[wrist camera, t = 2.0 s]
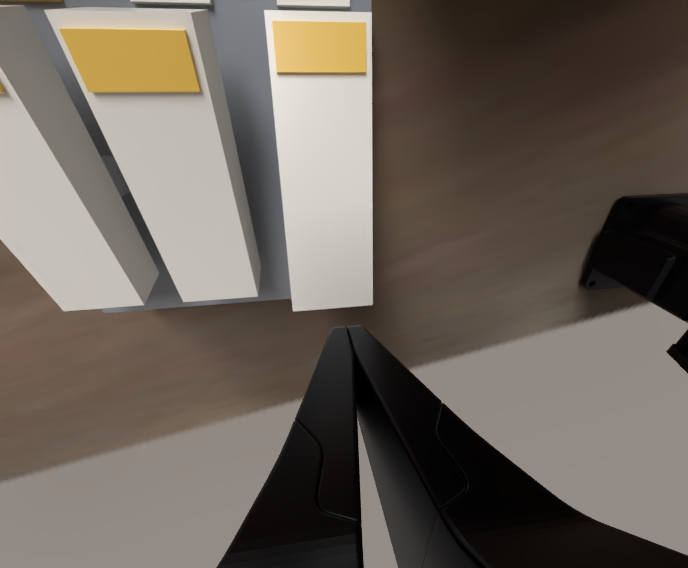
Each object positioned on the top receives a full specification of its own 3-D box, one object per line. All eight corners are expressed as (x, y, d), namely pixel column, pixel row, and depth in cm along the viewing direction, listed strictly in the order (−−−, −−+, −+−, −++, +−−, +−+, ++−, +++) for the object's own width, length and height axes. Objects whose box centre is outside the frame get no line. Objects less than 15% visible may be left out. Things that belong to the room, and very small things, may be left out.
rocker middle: (207, 9, 8) (189, 13, 7) (261, 266, 15) (257, 299, 13) (87, 6, 8) (39, 9, 7) (193, 270, 14) (182, 304, 13)
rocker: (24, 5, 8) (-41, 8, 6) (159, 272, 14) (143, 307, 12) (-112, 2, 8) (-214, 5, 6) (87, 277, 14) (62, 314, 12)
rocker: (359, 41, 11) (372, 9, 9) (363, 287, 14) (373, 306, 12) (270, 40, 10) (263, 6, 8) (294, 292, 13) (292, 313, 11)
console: (357, -17, 13) (380, -59, 9) (354, 267, 19) (366, 303, 16) (1, -28, 11) (-127, -83, 8) (130, 282, 18) (92, 325, 15)
